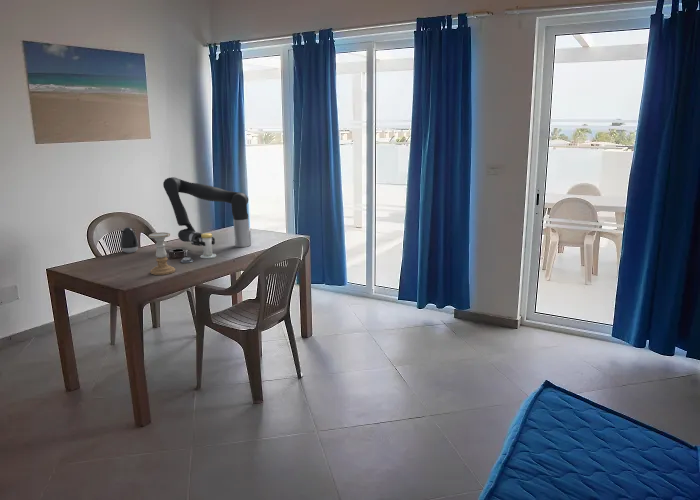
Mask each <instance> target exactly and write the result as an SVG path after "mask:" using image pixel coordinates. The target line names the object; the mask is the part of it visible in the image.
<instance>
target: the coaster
mask: <svg viewBox="0 0 700 500" xmlns="http://www.w3.org/2000/svg"><path fill="white" fill-rule="evenodd" d="M216 257H217V254H216V253H213V254H212V255H209V256H205V255H203V254H201V255H200V259H212V258H216Z"/></svg>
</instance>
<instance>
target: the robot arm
mask: <svg viewBox="0 0 700 500" xmlns="http://www.w3.org/2000/svg"><path fill="white" fill-rule="evenodd" d="M162 184H163V185H162V186H163V188H164V191H165V193H166V195H167V197H168V199H169V202H170V204H171V207H172V209H173V212H174V217H175V219H176V222H177V223H176V224H177V226H180V227H183V226H185V227H186V228H184V229H183V228H182V229H181V230H179V231H178V234H177V236H178V239H179V241H181V242H187V243H188V242H190V243H191V245H193V246H197V247H203V246H205V242H203V241H202V238H201V234H203V233H202V232H199V231H196V230H195V228H194V227H193V225H192V223H191V222H190V219H189V216H188V212H187V211H186V207H185V206H184V204H183V202H182V200H181V198H180V194H179V193H181V194H185V195H190V196H192V197H195V198H197V199H200V200H203V201H208V202H219V203H229V204H231V214H232V216H233V220H232V221H233V232H234V235H233V237H234V246H235V247H236V248H246V247H249V246H252V235H251V234H252V233H251V230H250V226H249V225H250V224H249V223H250V222H249V214H248V207H247V204H248V203H249V197H248V196H247V194H245V193H244V192H239V191H238V192H237V191H230V190H226V189H224V188H223V189H222V188H220V187H217V186H212V185H208V184H203V183H198V182H190V181H187V180H183V179H181V178H179V177H176V176H174V177H173V176H172V177H168V178H165V179H164V180H163V183H162ZM215 243H216V239H215V237H213V236H212V246H213V245H215Z"/></svg>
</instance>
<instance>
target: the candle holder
mask: <svg viewBox="0 0 700 500" xmlns="http://www.w3.org/2000/svg"><path fill="white" fill-rule="evenodd" d="M170 236H171V233H169V232H153V233H150V234H148V238H150V239H154V240H155V242H156V244H155V245H154V247H155V248H156V253H155V257H157V258H156V259H155V261H156V262H157V265H156V266H154V267H153V268H152V269H151V270H150V274H151V275H154V276H164V275H165V276H166V275H170V274H173V273H175V272H176V268H175V267H174V266H171V265H169V264H168V262H167V261H169V258H168V257H167V255H168V253H167V251H166V243H165V240H166V239H167V238H168V237H170Z"/></svg>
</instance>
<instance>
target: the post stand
mask: <svg viewBox="0 0 700 500" xmlns="http://www.w3.org/2000/svg"><path fill="white" fill-rule="evenodd" d="M192 262H194V259H192V257H190V256H185V257H182V259H181V260H180V263H181V264H189V263H192Z"/></svg>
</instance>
